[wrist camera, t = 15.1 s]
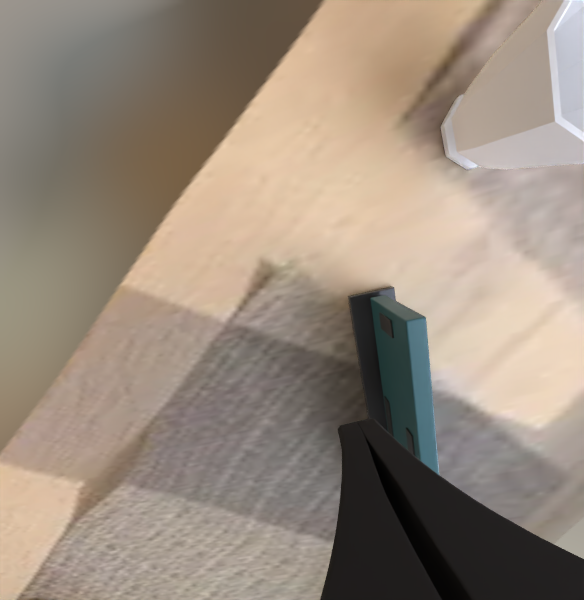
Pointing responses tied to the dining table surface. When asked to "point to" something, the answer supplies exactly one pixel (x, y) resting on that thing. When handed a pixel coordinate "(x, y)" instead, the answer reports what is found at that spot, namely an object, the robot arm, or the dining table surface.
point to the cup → (525, 97)
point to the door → (406, 377)
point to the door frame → (369, 351)
